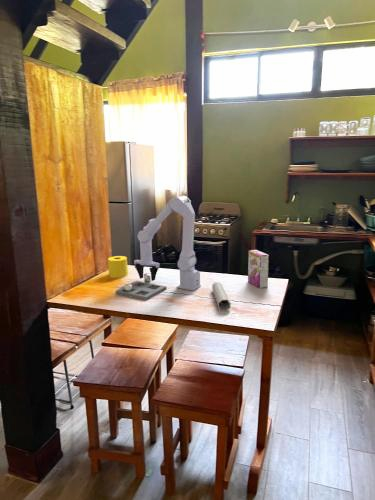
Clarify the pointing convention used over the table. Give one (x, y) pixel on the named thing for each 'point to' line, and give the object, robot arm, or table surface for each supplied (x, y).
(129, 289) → the pin
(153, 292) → the hole board
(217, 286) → the tube
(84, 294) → the table surface
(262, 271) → the candy bar box
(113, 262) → the tape roll
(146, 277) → the loose pin
